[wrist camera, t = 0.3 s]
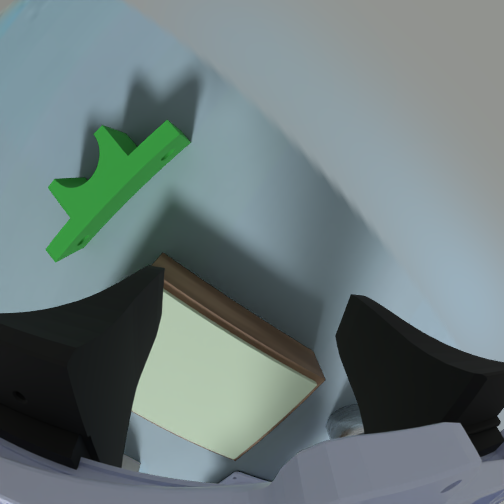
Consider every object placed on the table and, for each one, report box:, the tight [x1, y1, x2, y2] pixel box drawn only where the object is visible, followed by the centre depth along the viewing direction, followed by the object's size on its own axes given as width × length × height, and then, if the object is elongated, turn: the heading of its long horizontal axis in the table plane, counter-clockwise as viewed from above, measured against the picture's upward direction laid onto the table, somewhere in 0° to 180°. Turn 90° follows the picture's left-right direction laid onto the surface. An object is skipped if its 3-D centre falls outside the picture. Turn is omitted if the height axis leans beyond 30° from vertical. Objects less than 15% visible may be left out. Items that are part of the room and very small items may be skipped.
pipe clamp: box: [46, 120, 191, 262], centre depth 18 cm, size 11×4×5 cm, turn 130°
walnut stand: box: [131, 253, 325, 461], centre depth 22 cm, size 11×14×4 cm
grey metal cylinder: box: [326, 405, 364, 440], centre depth 24 cm, size 4×4×5 cm
